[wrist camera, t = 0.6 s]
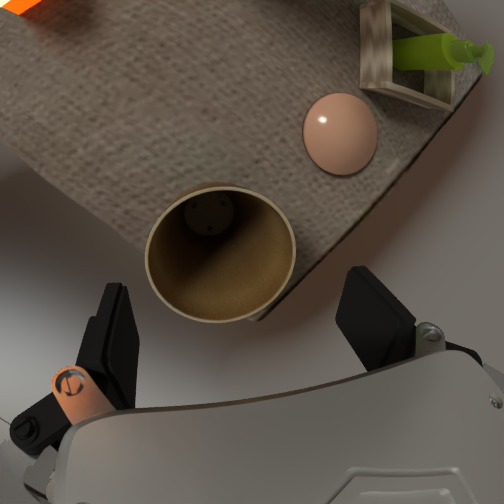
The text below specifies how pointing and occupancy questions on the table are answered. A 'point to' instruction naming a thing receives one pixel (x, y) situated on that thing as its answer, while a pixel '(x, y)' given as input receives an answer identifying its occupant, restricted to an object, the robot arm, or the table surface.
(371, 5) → the open wooden box
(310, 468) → the robot arm
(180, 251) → the plant pot
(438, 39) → the soap dispenser
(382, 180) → the table surface
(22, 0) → the orange juice
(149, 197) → the table surface
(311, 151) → the peach oval pebble
